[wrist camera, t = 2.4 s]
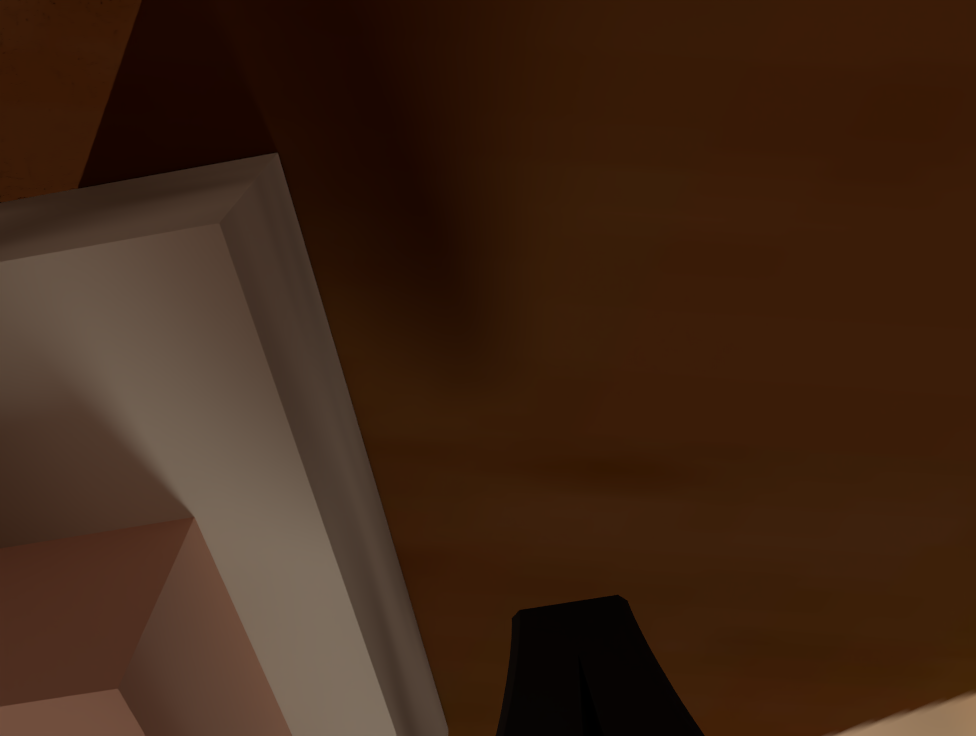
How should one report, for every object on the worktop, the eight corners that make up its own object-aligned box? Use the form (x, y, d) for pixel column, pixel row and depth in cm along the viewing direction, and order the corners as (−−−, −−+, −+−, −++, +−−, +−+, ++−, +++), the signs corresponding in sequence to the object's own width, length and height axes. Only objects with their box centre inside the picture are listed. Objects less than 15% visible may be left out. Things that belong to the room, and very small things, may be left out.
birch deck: (277, 152, 10) (219, 223, 8) (447, 728, 16) (447, 881, 14) (-288, 254, 11) (-527, 355, 8) (76, 783, 16) (4, 943, 14)
